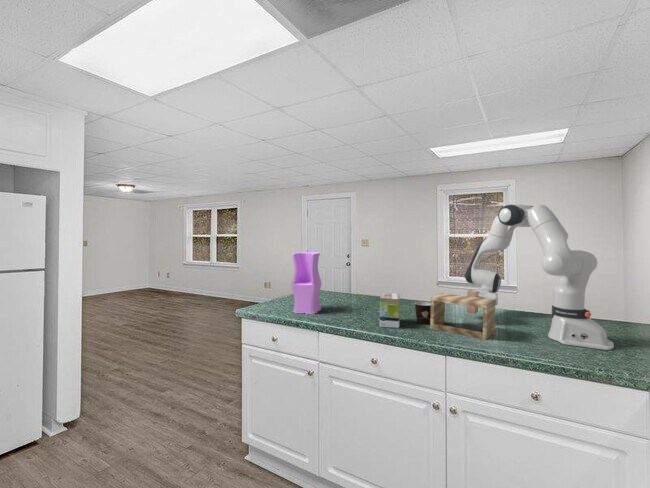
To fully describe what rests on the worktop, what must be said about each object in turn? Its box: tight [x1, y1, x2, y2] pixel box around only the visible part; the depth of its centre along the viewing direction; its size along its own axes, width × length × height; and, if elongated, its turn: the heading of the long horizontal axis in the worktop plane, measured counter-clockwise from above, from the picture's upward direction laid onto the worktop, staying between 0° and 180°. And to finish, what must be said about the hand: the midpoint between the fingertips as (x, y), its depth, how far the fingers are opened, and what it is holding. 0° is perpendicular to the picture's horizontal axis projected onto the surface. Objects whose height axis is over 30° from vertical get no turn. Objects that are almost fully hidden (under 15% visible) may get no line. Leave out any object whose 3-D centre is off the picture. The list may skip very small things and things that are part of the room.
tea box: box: [379, 292, 401, 329], centre depth 171 cm, size 15×10×15 cm
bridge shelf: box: [430, 292, 496, 340], centre depth 159 cm, size 26×14×16 cm, turn 49°
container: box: [291, 251, 322, 315], centre depth 197 cm, size 14×14×35 cm
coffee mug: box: [414, 301, 431, 325], centre depth 172 cm, size 12×9×10 cm
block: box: [466, 289, 479, 315], centre depth 171 cm, size 4×5×11 cm
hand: (472, 300), depth 170 cm, fingers closed on block, 4 cm apart
